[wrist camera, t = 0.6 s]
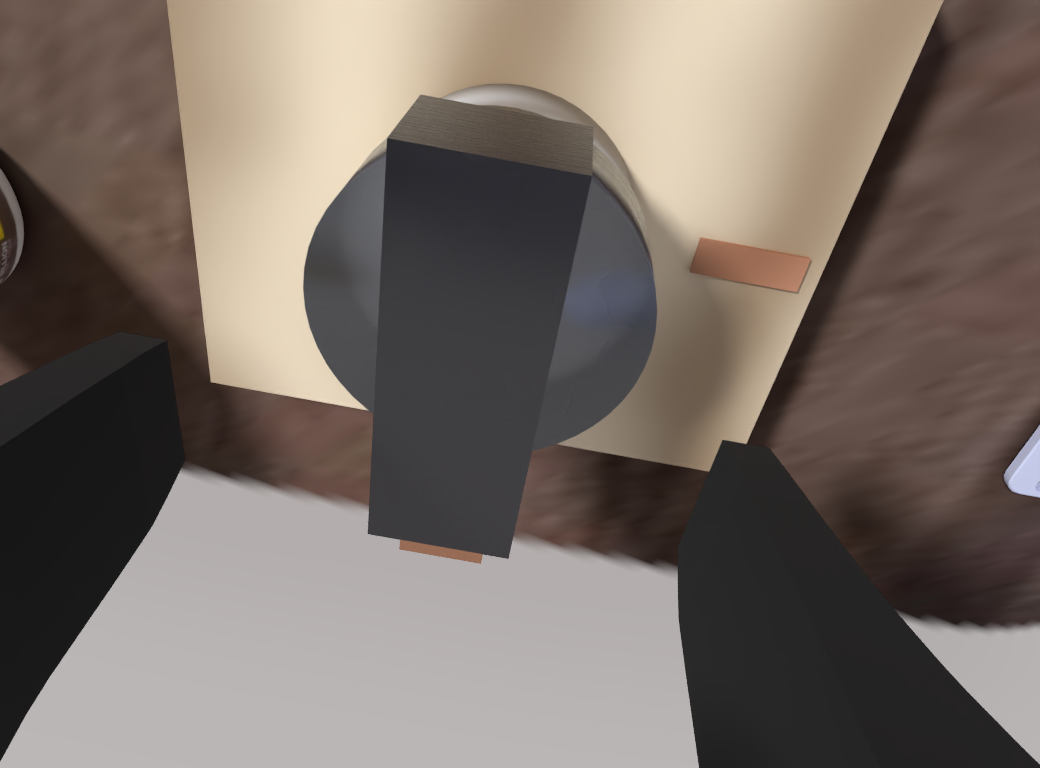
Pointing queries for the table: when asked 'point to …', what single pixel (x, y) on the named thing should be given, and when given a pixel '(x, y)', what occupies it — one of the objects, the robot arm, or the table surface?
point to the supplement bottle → (9, 229)
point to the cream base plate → (566, 97)
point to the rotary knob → (478, 311)
